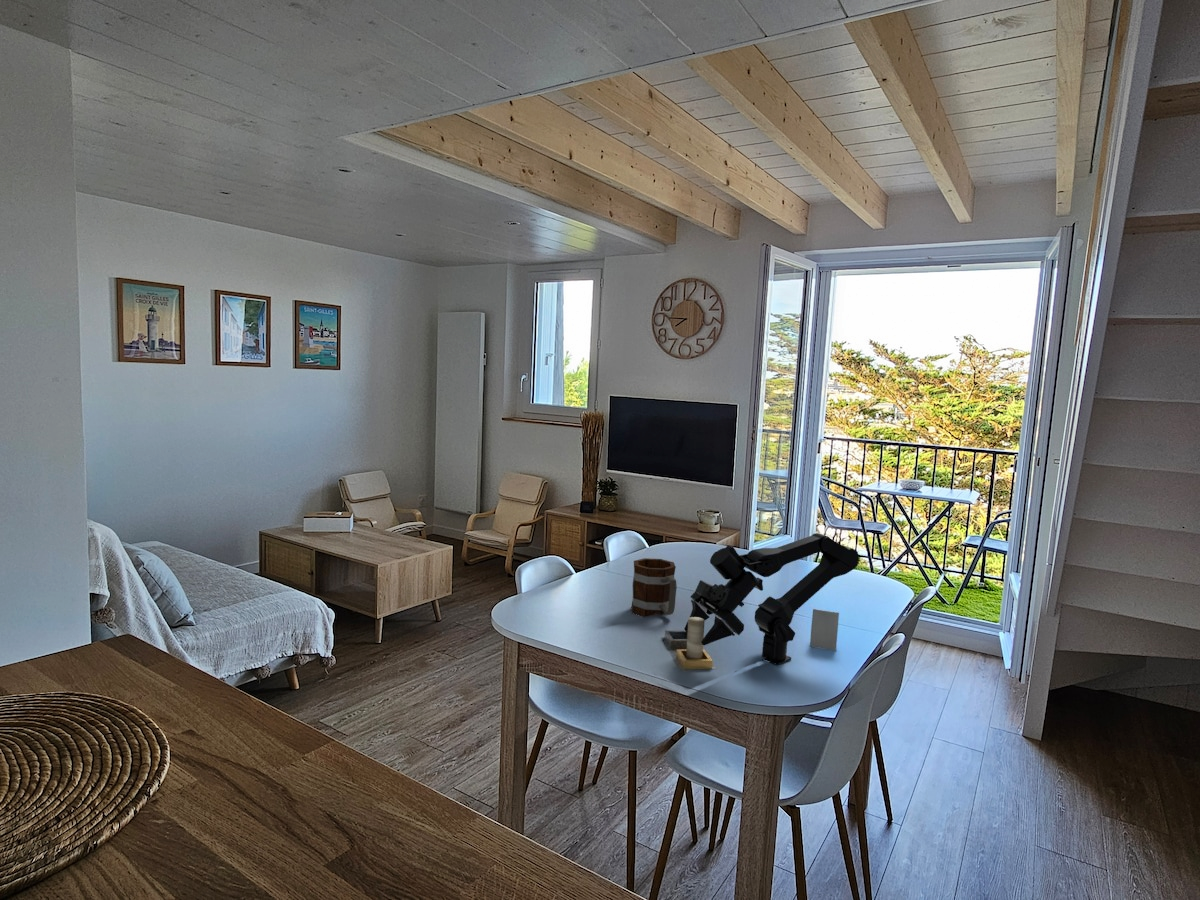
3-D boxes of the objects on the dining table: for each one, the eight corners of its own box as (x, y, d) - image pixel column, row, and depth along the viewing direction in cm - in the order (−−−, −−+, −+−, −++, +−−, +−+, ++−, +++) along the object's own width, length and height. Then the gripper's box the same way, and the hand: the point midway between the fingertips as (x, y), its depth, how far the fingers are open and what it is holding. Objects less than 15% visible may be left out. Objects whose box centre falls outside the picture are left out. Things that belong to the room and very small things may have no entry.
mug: (622, 606, 218) (625, 559, 216) (660, 602, 223) (663, 556, 222) (651, 627, 200) (654, 576, 198) (692, 623, 205) (695, 573, 204)
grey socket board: (660, 641, 189) (661, 630, 189) (692, 641, 190) (693, 630, 190) (679, 674, 168) (680, 661, 168) (715, 673, 170) (716, 660, 169)
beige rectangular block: (835, 650, 188) (838, 615, 187) (809, 646, 191) (812, 610, 190) (836, 646, 192) (839, 611, 191) (810, 641, 194) (813, 607, 193)
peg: (687, 658, 175) (689, 616, 174) (703, 660, 174) (705, 618, 173) (684, 664, 171) (687, 621, 170) (700, 666, 170) (703, 623, 169)
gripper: (699, 560, 181) (658, 604, 178) (735, 580, 163) (691, 630, 161) (724, 588, 184) (684, 631, 182) (762, 610, 167) (719, 659, 164)
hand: (693, 637), depth 172 cm, fingers open, 9 cm apart
